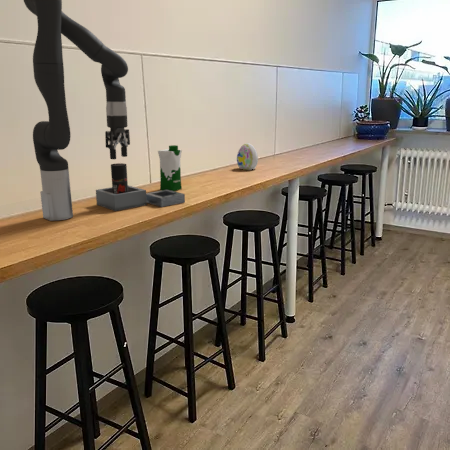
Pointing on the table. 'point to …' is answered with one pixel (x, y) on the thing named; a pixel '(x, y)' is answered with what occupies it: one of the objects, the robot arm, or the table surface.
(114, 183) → the deodorant
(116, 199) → the bin
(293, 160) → the table surface
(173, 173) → the milk carton
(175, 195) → the socket collar
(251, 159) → the decorative egg
